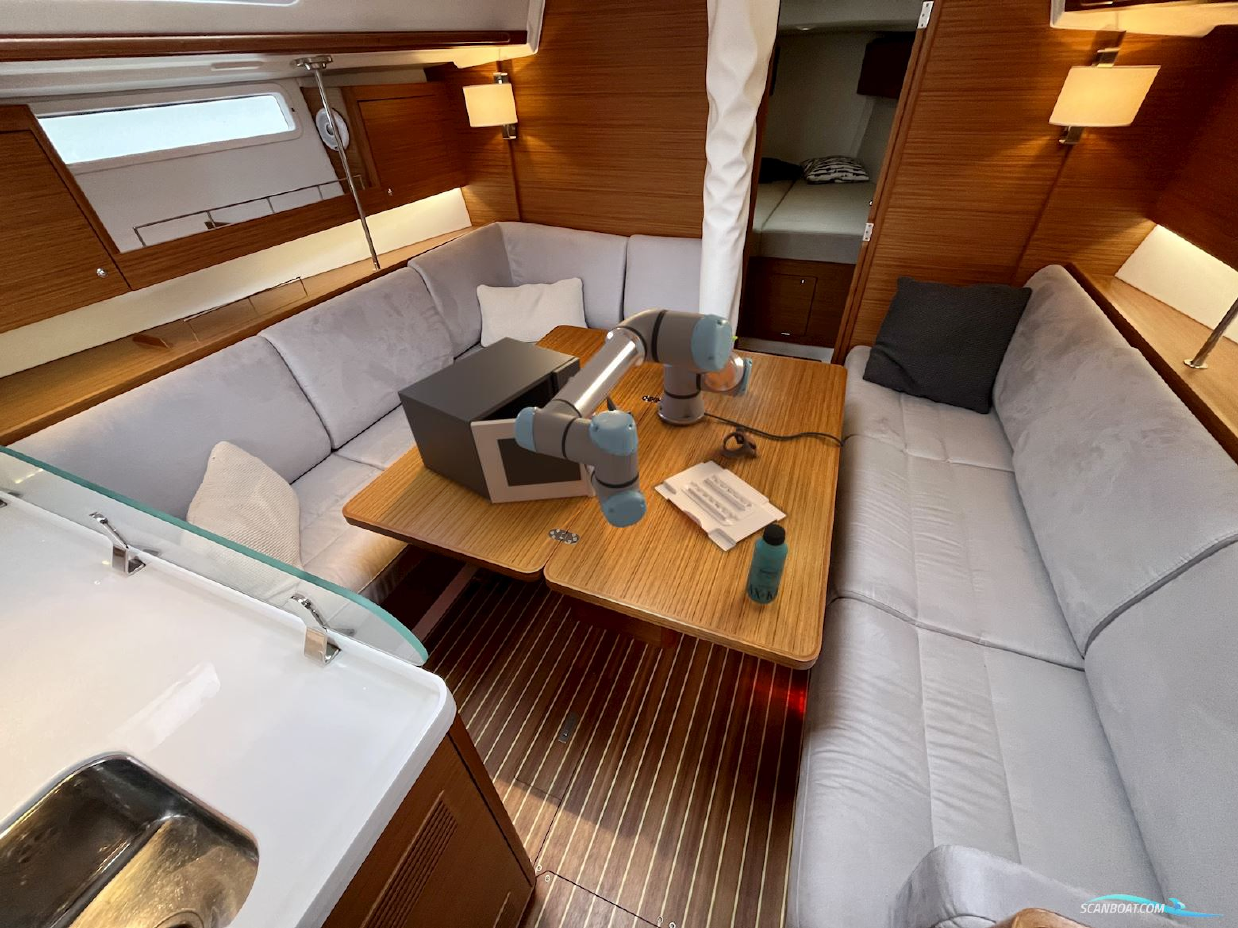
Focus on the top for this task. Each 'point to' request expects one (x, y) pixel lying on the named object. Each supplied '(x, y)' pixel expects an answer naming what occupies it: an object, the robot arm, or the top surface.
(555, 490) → the microwave door
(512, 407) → the microwave
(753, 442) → the brown looped piece
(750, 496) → the tray
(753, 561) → the beverage bottle
